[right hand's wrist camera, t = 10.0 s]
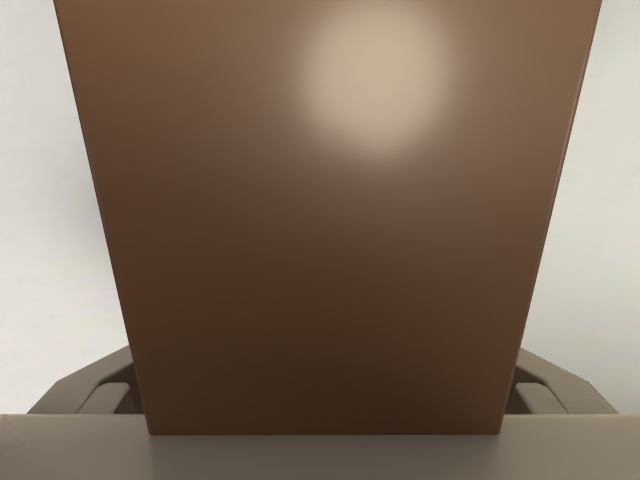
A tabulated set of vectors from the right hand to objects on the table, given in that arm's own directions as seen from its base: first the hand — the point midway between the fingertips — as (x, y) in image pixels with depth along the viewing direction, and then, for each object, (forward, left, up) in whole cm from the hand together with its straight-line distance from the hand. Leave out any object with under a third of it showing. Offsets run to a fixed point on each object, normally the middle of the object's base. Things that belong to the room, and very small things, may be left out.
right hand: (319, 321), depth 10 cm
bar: (+9, 0, -4) cm, 10 cm away
